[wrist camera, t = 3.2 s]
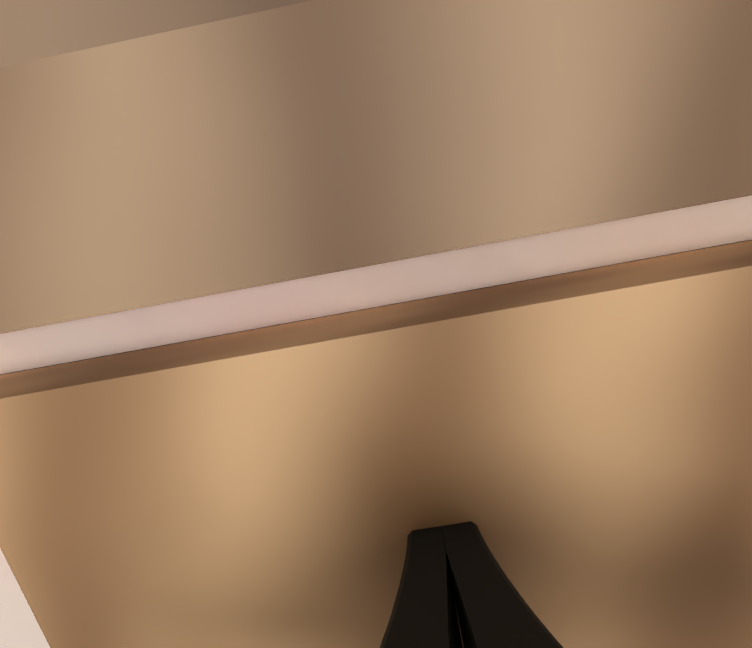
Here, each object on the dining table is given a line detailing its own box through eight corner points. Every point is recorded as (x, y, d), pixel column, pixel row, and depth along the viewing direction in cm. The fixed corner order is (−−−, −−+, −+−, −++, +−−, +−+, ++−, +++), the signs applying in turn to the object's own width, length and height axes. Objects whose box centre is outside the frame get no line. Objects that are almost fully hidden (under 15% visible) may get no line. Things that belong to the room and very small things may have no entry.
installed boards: (943, -447, 7) (1078, -586, 6) (877, 154, 10) (960, 156, 9) (-256, -150, 8) (-384, -209, 7) (-37, 324, 11) (-99, 351, 10)
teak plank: (870, 218, 10) (949, 230, 9) (828, 616, 13) (882, 672, 12) (-13, 377, 11) (-69, 411, 10) (139, 711, 14) (113, 773, 13)
